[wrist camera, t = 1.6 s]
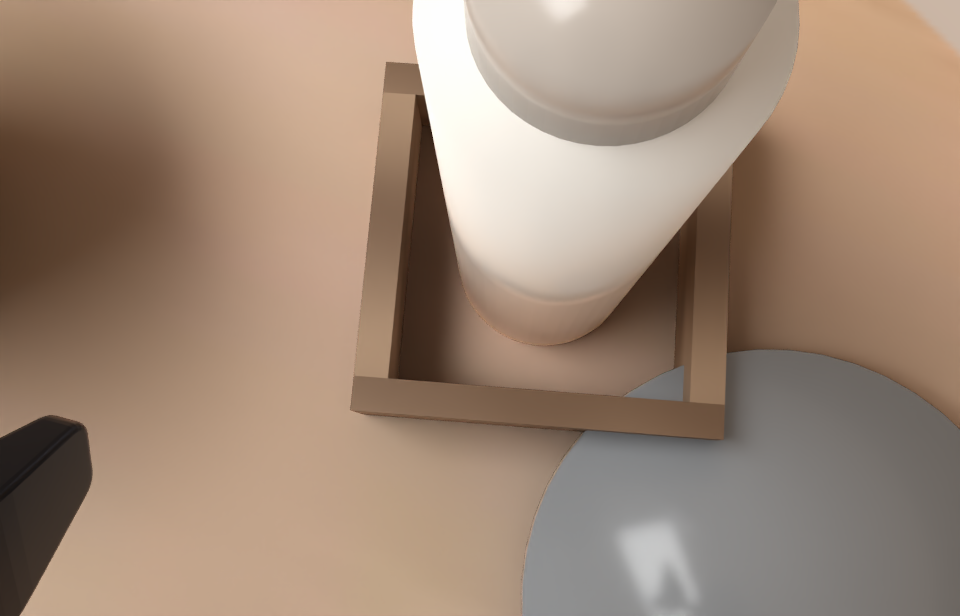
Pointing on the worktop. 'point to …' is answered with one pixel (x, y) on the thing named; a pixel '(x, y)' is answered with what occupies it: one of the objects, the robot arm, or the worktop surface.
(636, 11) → the salt mill
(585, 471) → the plate
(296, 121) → the worktop surface
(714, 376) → the holder
